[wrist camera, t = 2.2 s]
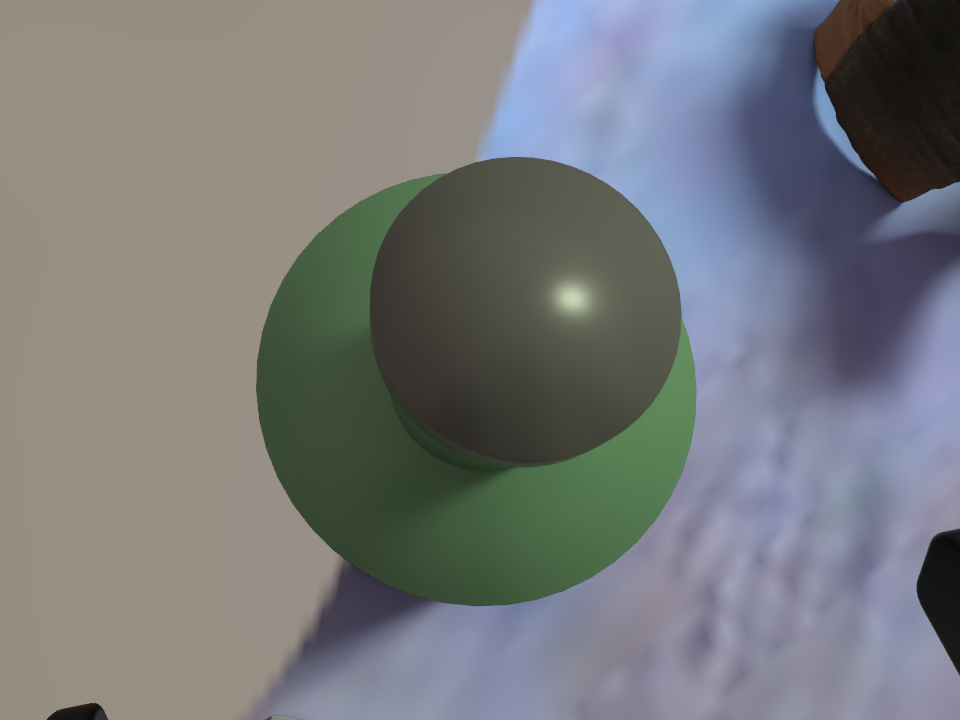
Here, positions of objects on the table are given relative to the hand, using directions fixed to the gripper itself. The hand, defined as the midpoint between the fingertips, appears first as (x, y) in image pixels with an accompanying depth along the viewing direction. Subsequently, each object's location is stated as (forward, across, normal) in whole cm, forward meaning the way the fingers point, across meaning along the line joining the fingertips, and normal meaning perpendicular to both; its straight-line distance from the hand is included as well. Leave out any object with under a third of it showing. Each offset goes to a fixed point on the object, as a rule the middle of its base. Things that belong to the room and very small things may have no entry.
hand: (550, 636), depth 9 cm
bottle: (+9, 0, +5) cm, 11 cm away
